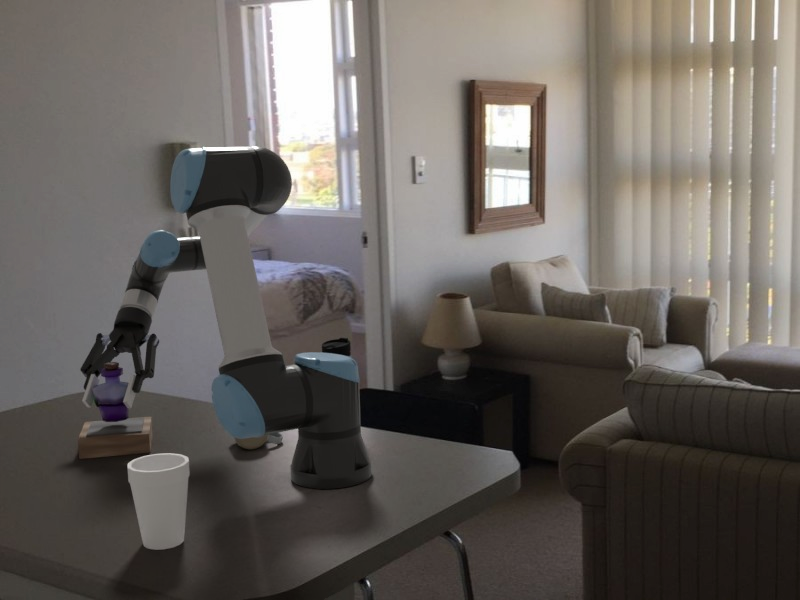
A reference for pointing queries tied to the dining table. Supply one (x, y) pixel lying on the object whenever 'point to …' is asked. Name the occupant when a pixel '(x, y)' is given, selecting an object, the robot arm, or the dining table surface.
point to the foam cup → (160, 498)
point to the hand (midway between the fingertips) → (106, 404)
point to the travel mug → (337, 347)
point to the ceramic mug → (259, 441)
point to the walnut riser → (115, 438)
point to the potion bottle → (111, 394)
